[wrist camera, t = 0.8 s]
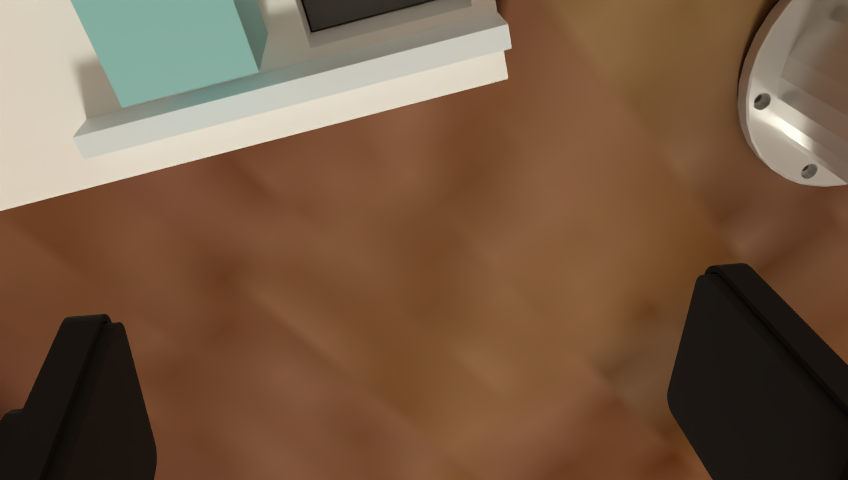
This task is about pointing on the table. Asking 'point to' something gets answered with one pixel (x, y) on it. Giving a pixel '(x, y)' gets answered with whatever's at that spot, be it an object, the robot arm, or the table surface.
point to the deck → (225, 86)
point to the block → (172, 43)
